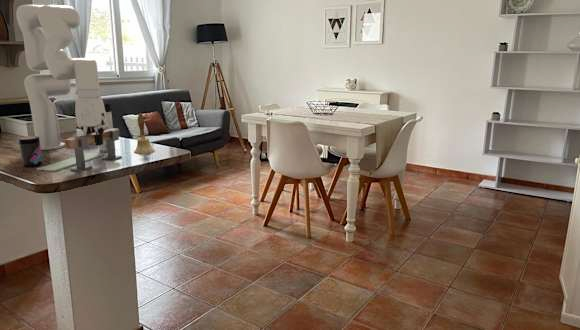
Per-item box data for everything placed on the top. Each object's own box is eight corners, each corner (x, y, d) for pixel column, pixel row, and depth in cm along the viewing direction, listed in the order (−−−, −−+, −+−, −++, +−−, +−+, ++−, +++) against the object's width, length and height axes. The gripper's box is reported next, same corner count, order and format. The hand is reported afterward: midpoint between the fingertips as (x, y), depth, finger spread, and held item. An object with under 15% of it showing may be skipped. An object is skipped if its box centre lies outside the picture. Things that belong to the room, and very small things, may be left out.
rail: (66, 148, 150) (64, 139, 149) (113, 135, 172) (112, 128, 171) (73, 148, 149) (72, 140, 148) (119, 136, 171) (119, 128, 170)
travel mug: (110, 153, 180) (105, 104, 175) (96, 152, 181) (90, 104, 176) (119, 150, 186) (114, 102, 181) (105, 149, 187) (99, 102, 182)
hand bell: (134, 154, 177) (130, 115, 173) (133, 150, 185) (129, 113, 181) (155, 152, 181) (152, 114, 177) (153, 148, 188) (150, 111, 184)
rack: (69, 170, 154) (64, 138, 151) (110, 157, 173) (106, 128, 170) (83, 171, 152) (78, 139, 149) (122, 158, 171) (119, 129, 169)
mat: (36, 170, 155) (36, 168, 155) (89, 154, 179) (89, 152, 179) (54, 171, 153) (54, 170, 153) (106, 155, 177) (105, 153, 177)
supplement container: (27, 168, 157) (22, 140, 155) (19, 166, 161) (14, 138, 159) (46, 164, 162) (42, 137, 160) (38, 162, 166) (34, 135, 164)
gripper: (62, 94, 155) (69, 145, 160) (100, 95, 150) (106, 148, 155) (78, 92, 162) (84, 141, 167) (115, 93, 157) (120, 143, 162)
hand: (95, 144), depth 161 cm, fingers open, 3 cm apart
